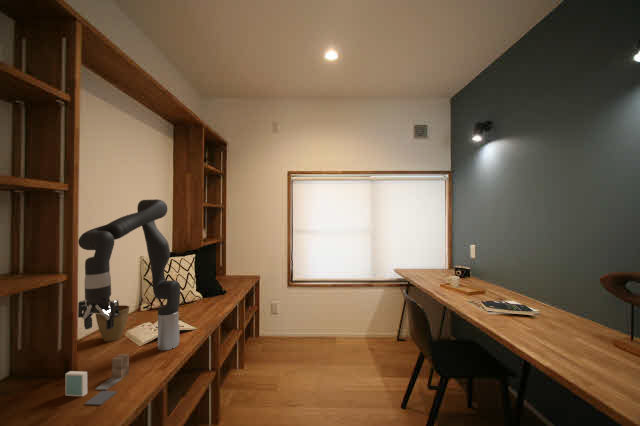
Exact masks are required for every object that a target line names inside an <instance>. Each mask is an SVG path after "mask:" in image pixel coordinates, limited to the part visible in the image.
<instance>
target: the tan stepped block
mask: <svg viewBox="0 0 640 426" xmlns="http://www.w3.org/2000/svg"><path fill="white" fill-rule="evenodd" d="M129 374H130V355H129V353H128V354H126V353H124V354H123V353H119V354H118V355H116V356H115V357H113V358H111V377H109V379H107V380H105V381H104V382H103V383H101V384H99V385H98V386H97V387H96V388H95V390H96V391H109V389H110V388H112V387H113V386H114V385H116V384H117V383H118V382H120V381H121V380H123V379H124V378H125V377H126V376H128V375H129Z"/></svg>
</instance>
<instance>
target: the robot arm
mask: <svg viewBox="0 0 640 426" xmlns="http://www.w3.org/2000/svg"><path fill="white" fill-rule="evenodd" d="M167 213H168V205H167V203H166V202H165V200H162V199H142V200H140V201H139V202H138V204H137V212H134V213H131V214H127V215H123V216H120V217H119V218H116V219H115V220H112V221H110V222H109V223H106V224H104V225H101V226H98V227H97V226H96V227H94V228H91V229H89V230H86V231H85V232H84V233H82V234H81V235H79V238H78V242H77V243H78V245H79V247H80V248H81V249H82V250H86V251H94V254H93V256H90V257H88V258H86V260H85V262H84V299H83V300H80V301H78V306H77V307H78V309H77V312H78V313H77V318H82V320H83V325H84V329H85V330H89V329H92V328H93V315H94V314H95V313H101V314H102V315H103V316H105V318H106V319H107V320H106V329H107V330H110V329H112V328H113V327H114V317H116V316H119V305H120V304H119V303H120V302H119V300H118V299H115V300H111V299H110V297H112V280H111V279H112V278H111V272H110V267H111V265H110V261H111V257H112V253H113V250H114V246H115V240H119V239H121V238H123V237H125V236H126V235H128V234H130V233H131V232H133V231H134V230H137V229H138V228H141V227H142V228H141V229H142V231H143V235H144V239H145V243H146V249H147V256H148V259H149V264H150V271H151V280H152V290H153V296H154V297H155V299H158V300H166V304H164V305H161V306H159V307H158V309H157V325H158V328H157V350H158V351H169V350H173V349H174V348H176V347H177V348H178V346H179V345H180V344H179V343H180V324H179V322H180V320H179V317H180V316H179V307H180V303H181V284H180V282H179V281H177V280H166V277H165V269H166V266H167V265H168V263H169V260H170V258H171V252H170V251H171V250H170V244H169V241H168V240H167V238H166V237H165V236H164V235H163V234H162V232H161V231H160V230H159V228H157V224H156V222H155V221H156V220H159V219H162V218H164V217H165V216H167ZM106 310H108V311H106ZM109 315H110V316H109ZM172 348H173V349H172Z"/></svg>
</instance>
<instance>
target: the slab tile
mask: <svg viewBox="0 0 640 426" xmlns="http://www.w3.org/2000/svg"><path fill="white" fill-rule="evenodd" d="M64 381H65V389H64V391H65V394H64V395H65V396H68V397H84V396H86V395H87V394H88V371H81V370H77V371H76V370H69V371H67V372H66V373H65V380H64Z"/></svg>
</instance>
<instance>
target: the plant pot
mask: <svg viewBox="0 0 640 426" xmlns="http://www.w3.org/2000/svg"><path fill="white" fill-rule="evenodd" d="M106 311H108V310H106ZM129 313H130V306H129V305H127V304H126V305H125V304H122V305H121V304H119V316H116V317H114V327H113V328H112V329H110V330H107V329H106V320H107V319H106V318H105V316H103V315H102V314H101V313H94V314H95V318H96V322H97V323H96V324H97V328H98V330H99V333H100V335H101V337H102V340H103V341H104V342H114V341H116V340H120V339H121V337H122V336H123V333H124V331H125V329H126V328H125V327H126V325H127V322H128V318H129ZM109 316H110V315H109Z"/></svg>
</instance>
